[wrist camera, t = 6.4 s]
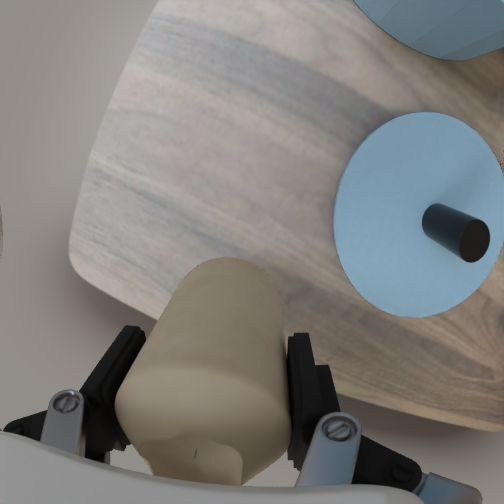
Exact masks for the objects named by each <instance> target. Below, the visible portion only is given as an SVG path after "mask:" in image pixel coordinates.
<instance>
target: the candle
mask: <svg viewBox="0 0 504 504" xmlns="http://www.w3.org/2000/svg"><path fill="white" fill-rule="evenodd" d="M115 412H116V416H117V419H118V421H119V424H120V426H121V428H122V430H123V431H124V433H125V435H126V436H127V438H128V439H129V441H130V442H131V444H132V445H133V446H134V448H135V449H136V450H137V451H138V453H139V454H140V456H142V458H143V459H144V461H145V462H146V463H147V465H148V466H149V468H150V470H151V471H152V473H153V475H155V476H160V477H166V478H171V479H178V480H185V481H192V482H200V483H209V484H220V485H233V486H242V485H243V484H245V483H246V482H247V481H248V480H250V479H251V478H253V477H254V476H255V475H257V474H258V473H260V472H261V471H263V470H264V469H266V468H267V467H268V466H269V465H271V464H273V463H274V462H275V461H276V460H277V459H279V458H280V457H281V456H282V455H283V454H284V453H285V452H286V450H287V449H288V447H289V445H290V442H291V437H292V421H291V407H290V394H289V381H288V369H287V357H286V345H285V334H284V323H283V312H282V304H281V299H280V295H279V292H278V290H277V288H276V286H275V284H274V282H273V281H272V279H271V278H270V277H269V276H268V275H267V274H266V273H265V272H264V271H263V270H262V269H260V268H259V267H258V266H256V265H254V264H252V263H250V262H247V261H245V260H241V259H237V258H216V259H212V260H208V261H206V262H203V263H202V264H200V265H198V266H197V267H195V268H194V269H193V270H191V271H190V272H189V273H188V274H187V275H186V276H185V278H184V279H183V281H182V282H181V283H180V285H179V286H178V288H177V290H176V291H175V293H174V295H173V296H172V298H171V300H170V301H169V303H168V305H167V306H166V308H165V310H164V311H163V313H162V315H161V316H160V318H159V320H158V321H157V323H156V325H155V327H154V328H153V330H152V332H151V334H150V335H149V337H148V339H147V340H146V342H145V344H144V345H143V347H142V349H141V351H140V352H139V354H138V356H137V358H136V359H135V361H134V363H133V365H132V366H131V368H130V370H129V372H128V374H127V375H126V377H125V379H124V381H123V383H122V384H121V386H120V388H119V390H118V392H117V395H116V398H115Z"/></svg>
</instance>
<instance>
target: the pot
mask: <svg viewBox="0 0 504 504" xmlns="http://www.w3.org/2000/svg"><path fill="white" fill-rule="evenodd" d="M354 2H355V3H356V4H357V5H358V6H359V8H360V9H361V10H362V11H363V12H364V13H365V14H366V15H367V16H368V17H369V18H370V19H371V20H372V21H373V22H374V23H376V24H377V25H378V26H379V27H380V28H381V29H383V30H384V31H386V32H387V33H388V34H390V35H391V36H392V37H394V38H395V39H397V40H398V41H400V42H402V43H403V44H405V45H407V46H409V47H411V48H412V49H414V50H417V51H419V52H421V53H423V54H426V55H429V56H432V57H435V58H439V59H443V60H450V61H466V60H469V59H472V58H475V57H477V56H480V55H483V54H486V53H489V52H492V51H495V50H497V49H500V48H503V47H504V0H354Z"/></svg>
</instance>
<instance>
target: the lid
mask: <svg viewBox="0 0 504 504" xmlns="http://www.w3.org/2000/svg"><path fill="white" fill-rule="evenodd" d="M333 231H334V239H335V245H336V249H337V253H338V257H339V260H340V262H341V264H342V267H343V269H344V271H345V273H346V275H347V277H348V278H349V280H350V282H351V283H352V285H353V286H354V287H355V289H356V290H357V291H358V292H359V294H361V295H362V296H363V297H364V298H365V299H366V300H367V301H368V302H369V303H371V304H372V305H374V306H375V307H377V308H379V309H381V310H383V311H385V312H387V313H390V314H393V315H396V316H402V317H415V318H419V317H426V316H431V315H435V314H439V313H441V312H444V311H446V310H449V309H451V308H452V307H454V306H456V305H458V304H459V303H461V302H462V301H463V300H465V299H466V298H467V297H469V296H470V295H471V294H472V293H473V292H474V291H475V290H476V289H477V288H478V287H479V286H480V285H481V283H482V282H483V281H484V280H485V278H486V277H487V275H488V274H489V273H490V271H491V269H492V268H493V266H494V264H495V262H496V260H497V258H498V255H499V253H500V251H501V248H502V245H503V241H504V176H503V173H502V170H501V167H500V165H499V163H498V161H497V159H496V157H495V155H494V153H493V152H492V150H491V148H490V147H489V145H488V144H487V143H486V142H485V141H484V139H483V138H482V137H481V136H480V135H479V134H478V133H477V132H476V131H475V130H474V129H472V128H471V127H470V126H468V125H467V124H465V123H464V122H462V121H460V120H458V119H456V118H454V117H452V116H449V115H445V114H442V113H436V112H415V113H410V114H405V115H402V116H399V117H396V118H394V119H391V120H389V121H388V122H386V123H384V124H382V125H381V126H379V127H378V128H377V129H375V130H374V131H373V132H372V133H370V134H369V135H368V136H367V137H366V138H365V139H364V141H363V142H362V143H361V144H360V145H359V146H358V148H357V149H356V150H355V152H354V153H353V155H352V156H351V158H350V160H349V162H348V163H347V165H346V167H345V169H344V171H343V174H342V177H341V179H340V182H339V185H338V189H337V193H336V197H335V203H334V212H333Z"/></svg>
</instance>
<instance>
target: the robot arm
mask: <svg viewBox="0 0 504 504" xmlns="http://www.w3.org/2000/svg"><path fill="white" fill-rule="evenodd" d="M145 342H146V337H145V333H144V331H143V330H141V329H140V327H138V326H128V325H127V326H125V327H124V328H123V329H122V331H121V332H120V333H119V335H118V336H117V338H116V339H115V341H114V342H113V343H112V345H111V346H110V347H109V349H108V350H107V352H106V353H105V354H104V356H103V357H102V359H101V360H100V361H99V363H98V364H97V366H96V367H95V369H94V370H93V371H92V373H91V374H90V376H89V377H88V379H87V380H86V382H85V383H84V385H83V386H82V388H81V389H80V390H79V392H78V391H75V390H63V391H60V392H58V393H57V394H55V395H54V396H53V397H52V398H51V400H50V402H49V406H48V410H46V411H42V412H39V413H36V414H33V415H30V416H27V417H24V418H21V419H17V420H14V421H12V422H10V423H8V424H7V425H6V426H5V428H4V430H3V431H2V430H1V429H0V504H482V495H481V493H480V492H479V491H478V489H476V488H474V487H472V486H469V485H466V484H463V483H460V482H457V481H454V480H451V479H448V478H445V477H442V476H440V475H437V474H434V473H432V472H430V473H429V474H425V473H423V472H422V471H421V468H420V466H419V465H418V464H417V463H416V462H415V461H413V460H412V459H409V458H407V457H405V456H403V455H401V454H399V453H397V452H395V451H392V450H391V449H389V448H386V447H385V446H382V445H381V444H379V443H377V442H375V441H373V440H371V439H369V438H367V437H365V436H363V435H361V434H362V426H361V424H360V421H359V420H357V418H356V417H354V416H352V415H350V414H347V413H344V412H340V407H339V403H338V399H337V395H336V391H335V387H334V383H333V379H332V375H331V371H330V367H329V365H315V362H314V357H313V352H312V347H311V342H310V338H309V333H294V336H289V337H288V350H287V369H288V381H289V394H290V407H291V421H292V437H291V442H290V445H289V447H288V449H287V452H288V460H293V462H294V468H297V470H299V471H300V474H299V476H298V479H297V481H296V484H295V486H294V487H252V486H233V485H220V484H209V483H200V482H192V481H185V480H178V479H171V478H166V477H160V476H155V475H149V474H145V473H140V472H135V471H131V470H127V469H123V468H119V467H115V466H111V465H110V451H112V450H113V449H116V450H120V451H124V450H125V448H126V445H130V444H131V442H130V441H129V439H128V438H127V436H126V435H125V433H124V431H123V430H122V428H121V426H120V424H119V421H118V419H117V416H116V412H115V398H116V395H117V392H118V390H119V388H120V386H121V384H122V383H123V381H124V379H125V377H126V375H127V374H128V372H129V370H130V368H131V366H132V365H133V363H134V361H135V359H136V358H137V356H138V354H139V352H140V351H141V349H142V347H143V345H144V344H145Z"/></svg>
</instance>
